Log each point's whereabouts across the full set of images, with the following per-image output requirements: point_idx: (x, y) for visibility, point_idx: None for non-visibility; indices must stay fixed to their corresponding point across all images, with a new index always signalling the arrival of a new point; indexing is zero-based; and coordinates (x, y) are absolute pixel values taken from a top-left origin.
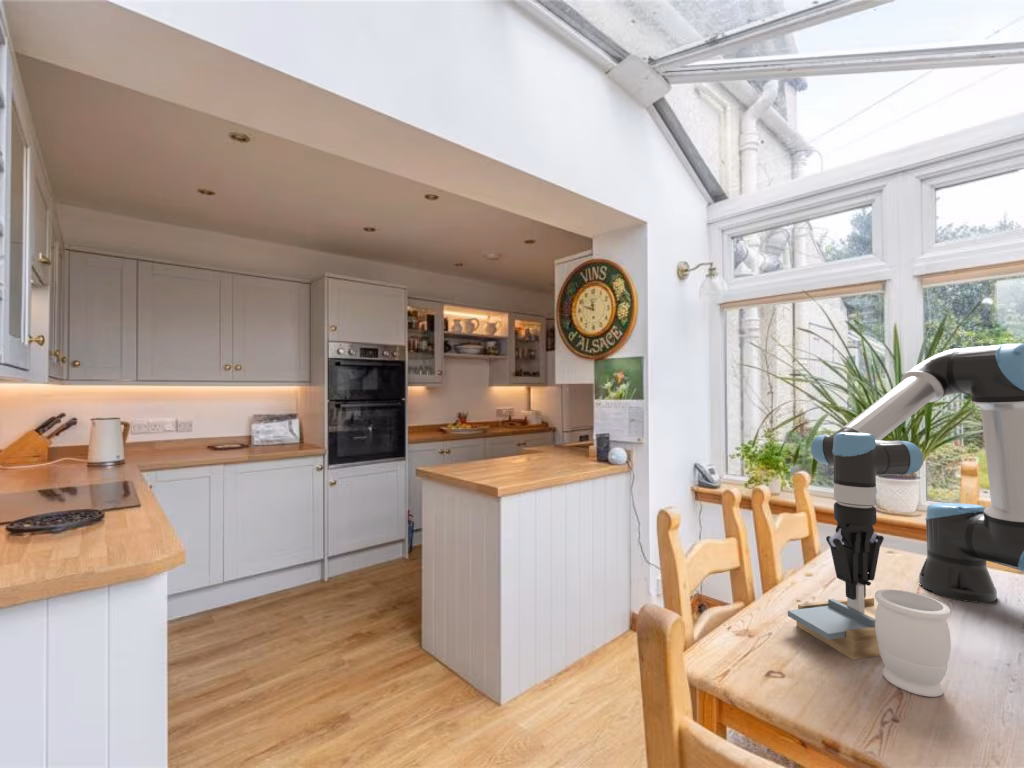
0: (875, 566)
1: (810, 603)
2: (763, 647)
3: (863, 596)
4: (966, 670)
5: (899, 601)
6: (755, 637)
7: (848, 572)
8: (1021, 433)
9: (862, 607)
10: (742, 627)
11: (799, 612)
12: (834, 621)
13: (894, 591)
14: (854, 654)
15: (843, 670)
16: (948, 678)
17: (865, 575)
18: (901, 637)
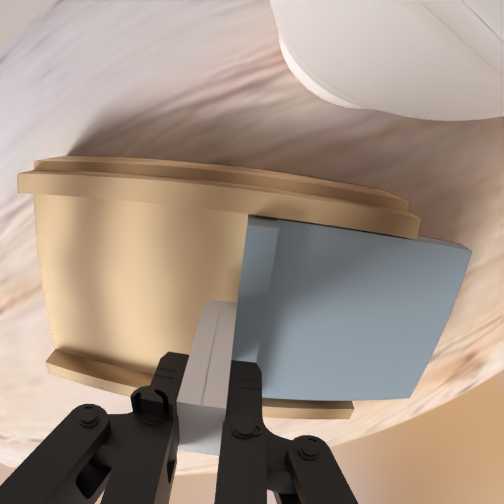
0: (29, 468)
1: (302, 416)
2: (495, 312)
3: (196, 354)
4: (109, 40)
5: (394, 5)
6: (469, 350)
7: (317, 499)
8: None
9: (212, 321)
10: (447, 387)
11: (394, 384)
12: (363, 311)
13: (466, 11)
14: (384, 192)
15: (456, 168)
16: (209, 19)
17: (142, 451)
18: None
